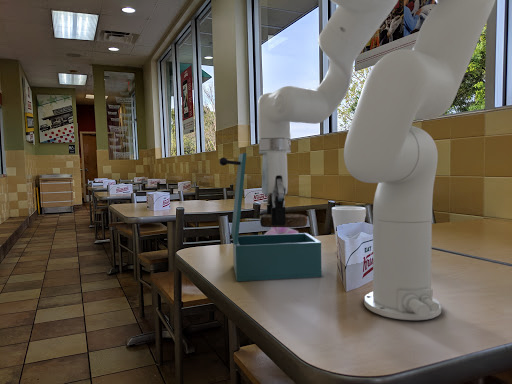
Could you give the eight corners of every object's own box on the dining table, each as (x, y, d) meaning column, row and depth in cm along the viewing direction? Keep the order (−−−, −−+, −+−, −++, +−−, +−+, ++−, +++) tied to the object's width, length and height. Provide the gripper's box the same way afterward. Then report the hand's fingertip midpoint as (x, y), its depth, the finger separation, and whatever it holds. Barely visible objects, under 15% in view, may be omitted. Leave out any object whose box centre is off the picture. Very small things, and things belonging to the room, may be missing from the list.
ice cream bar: (307, 228, 86) (306, 216, 86) (243, 227, 89) (242, 215, 89) (308, 224, 92) (308, 213, 92) (247, 223, 95) (247, 212, 94)
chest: (307, 262, 98) (307, 232, 98) (321, 276, 86) (321, 242, 85) (233, 266, 96) (232, 236, 96) (236, 281, 84) (235, 246, 83)
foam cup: (326, 251, 112) (326, 207, 111) (353, 248, 114) (353, 205, 114) (343, 258, 103) (343, 210, 102) (372, 255, 105) (372, 208, 105)
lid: (242, 155, 95) (219, 153, 94) (246, 153, 82) (220, 150, 81) (234, 234, 96) (212, 232, 95) (237, 244, 83) (212, 242, 82)
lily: (256, 255, 112) (266, 229, 108) (257, 234, 123) (266, 209, 118) (294, 266, 113) (306, 241, 109) (292, 244, 124) (302, 220, 120)
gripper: (254, 149, 97) (256, 218, 98) (264, 145, 80) (265, 229, 81) (283, 148, 98) (284, 217, 99) (298, 144, 81) (299, 227, 82)
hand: (276, 222), depth 90 cm, fingers closed on ice cream bar, 6 cm apart
